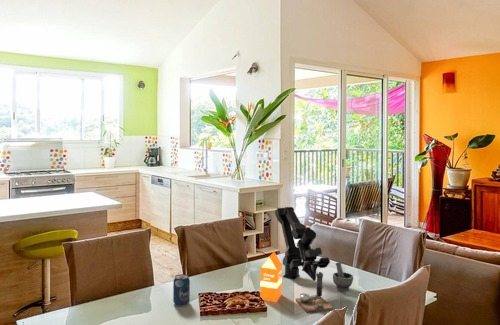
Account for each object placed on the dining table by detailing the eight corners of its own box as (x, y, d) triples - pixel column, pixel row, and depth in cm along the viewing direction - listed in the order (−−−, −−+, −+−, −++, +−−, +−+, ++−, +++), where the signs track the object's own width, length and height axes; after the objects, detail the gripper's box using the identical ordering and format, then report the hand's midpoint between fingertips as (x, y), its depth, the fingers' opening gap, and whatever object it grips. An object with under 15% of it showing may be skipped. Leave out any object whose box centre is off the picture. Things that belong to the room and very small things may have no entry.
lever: (298, 300, 177) (298, 273, 177) (318, 295, 183) (319, 270, 182) (303, 303, 174) (304, 276, 173) (324, 298, 179) (325, 273, 179)
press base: (295, 301, 180) (295, 290, 180) (320, 298, 183) (320, 288, 183) (307, 313, 167) (307, 302, 167) (333, 310, 171) (334, 299, 170)
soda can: (182, 308, 170) (182, 280, 170) (169, 304, 174) (170, 277, 173) (192, 302, 176) (193, 275, 175) (180, 299, 180) (181, 272, 179)
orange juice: (281, 294, 187) (282, 252, 186) (276, 302, 179) (277, 257, 178) (265, 292, 190) (266, 250, 188) (259, 299, 181) (260, 255, 180)
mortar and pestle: (356, 292, 192) (357, 267, 191) (338, 293, 189) (339, 268, 189) (344, 283, 203) (345, 260, 202) (327, 285, 200) (328, 261, 199)
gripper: (292, 242, 186) (301, 273, 176) (328, 240, 191) (339, 270, 181) (285, 254, 194) (293, 285, 184) (321, 252, 199) (330, 281, 189)
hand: (314, 280), depth 185 cm, fingers closed
